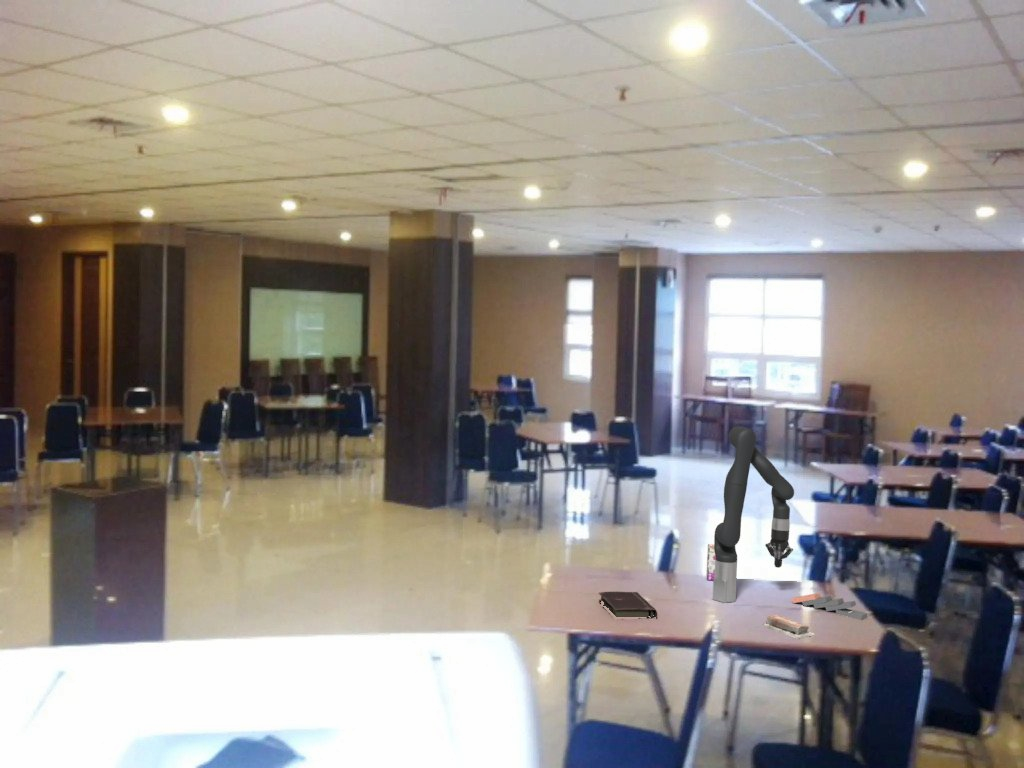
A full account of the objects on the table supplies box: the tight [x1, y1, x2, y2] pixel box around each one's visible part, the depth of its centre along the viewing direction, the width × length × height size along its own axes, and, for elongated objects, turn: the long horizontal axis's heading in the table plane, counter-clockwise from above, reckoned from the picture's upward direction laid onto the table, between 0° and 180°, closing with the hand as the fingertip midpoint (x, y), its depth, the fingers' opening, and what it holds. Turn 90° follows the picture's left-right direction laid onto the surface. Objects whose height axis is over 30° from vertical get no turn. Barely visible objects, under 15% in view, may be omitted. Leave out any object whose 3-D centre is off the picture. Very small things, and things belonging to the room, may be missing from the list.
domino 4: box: [824, 600, 857, 612], centre depth 395 cm, size 2×5×11 cm
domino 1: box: [790, 592, 822, 604], centre depth 405 cm, size 2×5×11 cm
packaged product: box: [762, 613, 815, 640], centre depth 370 cm, size 18×5×10 cm
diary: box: [598, 591, 658, 618], centre depth 392 cm, size 19×25×5 cm
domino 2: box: [801, 595, 833, 607], centre depth 402 cm, size 2×5×11 cm
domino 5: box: [835, 608, 868, 621], centre depth 391 cm, size 2×5×11 cm
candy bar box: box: [705, 543, 715, 582], centre depth 441 cm, size 11×5×16 cm, turn 84°
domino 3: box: [813, 597, 845, 610], centre depth 398 cm, size 2×5×11 cm
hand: (777, 567), depth 415 cm, fingers closed
